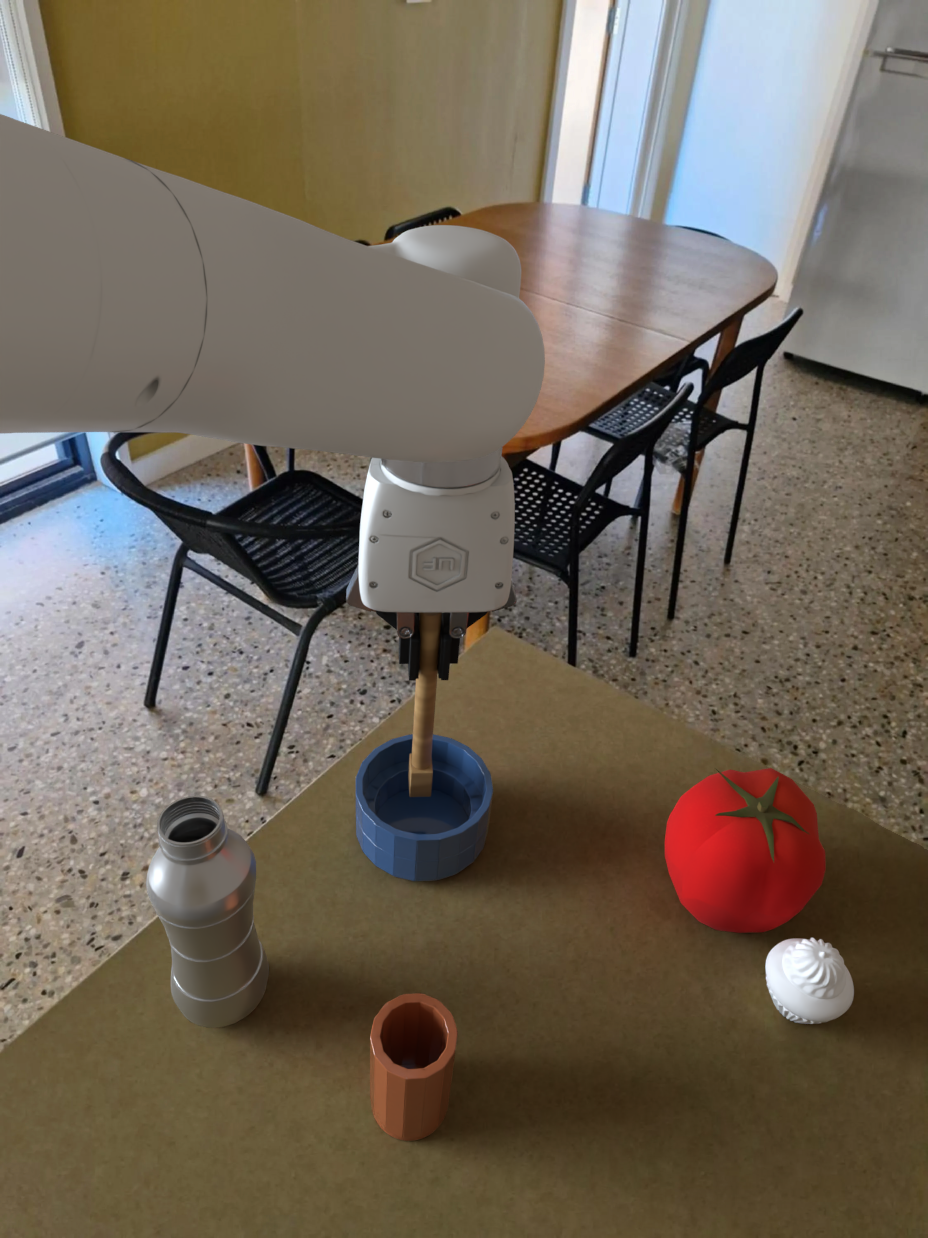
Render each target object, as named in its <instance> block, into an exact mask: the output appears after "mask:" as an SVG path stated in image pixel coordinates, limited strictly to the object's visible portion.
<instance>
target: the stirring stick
mask: <svg viewBox="0 0 928 1238" xmlns="http://www.w3.org/2000/svg"><path fill="white" fill-rule="evenodd" d="M418 613H419V614H418V617H419V630H420V638H421V646H420V663H419V679H416V681H415V689H414V691H415V692H414V704H413V705H414V708H413V725H412V734H413V742H412V753H411V754H410V756H409V775H408V780H409V796H410V797H430V796H431V790H432V777H433V769H432V757H431V755H432V742H433V734H434V726H435V715H436V714H435V713H436V699H437V688H438V687H437V686H438V657H439V643H440V630H441V620H442V613H443V612H418Z"/></svg>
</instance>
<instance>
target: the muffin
mask: <svg viewBox="0 0 928 1238" xmlns="http://www.w3.org/2000/svg"><path fill="white" fill-rule="evenodd" d="M764 966H765V967H764V969H765V980H766V987H767V989H768V993H769V995H770V998H771V1000H772V1002H773V1005H774V1007H775V1008H776V1010H777V1011H778V1012H779V1014H781V1015H782V1017H785V1018H786V1020H789V1021H790V1022H794V1023H795V1024H805V1025H806V1024H807V1025H808V1024H810V1025H813V1024H816V1025H819V1024H822V1023H828V1022H830V1021H834V1020H836V1019H837V1018H839V1017H841V1016H842V1015H844V1014H845V1013H846V1012H847V1011H848V1010H850V1007H851V1006H852V1004H853V1002H854V996H855V987H854V982H853V978H852V975H851V973H850V971H849V969H848V967H847V966H846V965H845V960H844V958H843V956H842V955H840V952H839V950H838V949H837V948H835V947H833V944H832V943H830V942H824V940H823V938H819V939H818V940H817V939H816V938H815V937H810V938H809V939H807V938H796V937H795V938H788V939H784V940H782V941H780V942H778V943H777V944H776V945H774V946H773V947H772V948H771V949H770V951H769V952H768V954H767V956H766V958H765V965H764Z"/></svg>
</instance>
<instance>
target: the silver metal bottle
mask: <svg viewBox="0 0 928 1238" xmlns="http://www.w3.org/2000/svg"><path fill="white" fill-rule="evenodd" d="M156 830H157V831H156V832H157V835H158V846H159V847H158V848H157V850H156V851H155V853H154V855H153V856H152V858H151V861H150V863H149V866H148V870H147V874H146V881H145V887H146V894H147V896H148V898H149V901H150V904H151V906H152V908H153V909H154V911H155V914H156V916H157V917H158V919H159V920H160V923H161V924H162V926H163V928H164V931H165V934H166V936H167V939H168V942H169V945H170V953H171V968H170V992H171V997H172V999H173V1003H174V1004H175V1005H176V1007H177V1008H178V1010H179V1011H180V1013H181V1014H182V1015H183V1016H184V1018H185V1019H187V1020H188V1021H189V1022H190V1023H193V1024H194V1025H196V1026H199V1027H203V1028H208V1029H209V1028H210V1029H216V1028H223V1027H228V1026H231V1025H234V1024H236V1023H238V1022H239V1021H241V1020H244V1019H245V1018H246V1017H247V1016H249V1015H250V1014H252V1012H253V1011H255V1009H256V1008H257V1007H258V1006H259V1004H260V1003H261V1001H262V999H263V997H264V995H265V993H266V989H267V984H268V979H269V976H270V963H269V960H268V959H269V958H268V955H267V953H266V949H265V947H264V946H263V944H262V942H261V940H260V939H259V935H258V933H257V929H256V925H255V922H254V921H255V917H254V898H255V891H256V884H257V883H256V881H257V860H256V855H255V853H254V852H253V849H252V847H251V846H250V845H249V843H248V842H247V841H246V839H245V838H244V837H243V836H242V835H241V834H240V833H238V832H236V831H235V830H233V829H231V828H229V827H228V824H227V821H226V820H225V817H224V812H223V810H222V808H221V806H220V804H219V803H218V802H217V801H216V800H214V799H213V798H211V797H208V796H204V795H188V796H184V797H180V798H178V799H176V800H174V801H172V802H170V803H169V804H168V805H166V806H165V808H164V809H162V811H161V812H160V814H159V815H158V818H157V822H156Z"/></svg>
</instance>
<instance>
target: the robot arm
mask: <svg viewBox="0 0 928 1238" xmlns="http://www.w3.org/2000/svg"><path fill="white" fill-rule="evenodd" d="M521 284H522V263H521V260H520V257H519V255H518V252H517V250H516V249H515V248H514V246H513V245H512V244H511V243H510V242H509V241H508V240H506V239H505V238H503V237H501V236H500V235H497V234H494V233H493V232H490V231H486V230H483V229H479V228H476V227H469V226H462V225H453V224H452V225H450V224H438V225H437V224H436V225H435V224H434V225H426V226H425V225H424V226H420V227H415V228H411V229H408V230H406V231H404V232H402V233H400V234H399V235H398V236H397V237H395V238H394V239H393V240H392V242H388V243H383V244H375V245H365V244H363V243H360V242H357V241H354V240H351V239H348V238H346V237H343V236H340V235H338V234H336V233H333V232H331V231H328V230H325V229H323V228H321V227H318V226H316V225H313V224H311V223H308V222H306V221H304V220H302V219H299V218H296V217H294V216H291V215H288V214H286V213H283V212H280V211H278V210H276V209H275V210H274V209H272V208H270V207H267V206H264V205H261V204H259V203H256V202H254V201H251V200H249V199H245V198H243V197H240V196H237V195H233V194H230V193H227V192H224V191H222V190H219V189H216V188H213V187H210V186H207V185H205V184H203V183H199V182H196V181H193V180H191V179H188V178H185V177H183V176H180V175H176V174H173V173H170V172H167V171H164V170H160V169H158V168H155V167H151V166H148V165H145V164H142V163H140V162H137V161H134V160H132V159H130V158H129V159H128V158H125V157H123V156H120V155H117V154H114V153H111V152H108V151H105V150H103V149H100V148H97V147H94V146H91V145H89V144H86V143H83V142H80V141H77V140H75V139H72V138H69V137H66V136H63V135H61V134H58V133H55V132H52V131H49V130H47V129H44V128H41V127H38V126H35V125H32V124H30V123H27V122H24V121H21V120H18V119H15V118H13V117H10V116H7V115H4V114H2V113H0V435H1V434H25V433H26V434H31V433H33V434H34V433H35V434H40V433H44V434H45V433H177V434H178V433H179V434H186V435H191V436H197V437H203V438H208V439H216V440H222V441H227V442H230V443H231V442H232V443H237V444H245V445H253V446H260V447H273V448H286V449H297V450H305V451H315V452H325V453H334V454H343V455H349V456H350V455H351V456H357V457H364V458H371V459H370V462H369V467H368V470H367V475H366V479H365V484H364V490H363V497H362V505H361V513H360V523H359V543H358V545H359V546H358V564H357V566H356V568H355V570H354V572H353V574H352V576H351V579H350V581H349V583H348V585H347V587H346V591H345V593H346V596H345V601H346V604H347V605H348V606H350V607H353V608H356V609H360V610H363V611H367V612H369V613H371V612H374V613H375V614H376V615H377V616H378V617H379V618H380V619H382V620H383V621H384V622H386V623H387V624H388V625H390V626H391V627H392V628H393V629H394V630H396V634H397V636H398V664H399V665H407V675H408V681H409V682H410V681H413V682H416V679H419V663H420V646H421V638H420V630H419V616H418V614H417V613H419V612H442V620H441V630H440V643H439V657H438V674H437V679H440V681H449V678H450V665H458V664H459V654H460V644H461V639H462V638H463V637H465V635H466V634H467V629H468V628H470V627H471V626H472V625H474V624H475V623H477V622H478V621H479V620H481V619H482V618H484V617H485V616H486V615H487V614H488V613H489V612H492V613H493V612H497V611H500V610H503V609H507V608H511V607H513V606H515V605H516V604H517V602H518V598H517V594H516V589H515V585H514V583H513V581H512V577H513V563H514V546H515V525H516V524H515V523H516V522H515V519H516V518H515V517H516V515H515V514H516V513H515V511H516V510H515V509H516V505H515V504H516V503H515V486H514V478H513V472H512V470H511V468H510V467H509V463H508V461H507V460H506V459H505V457H503V456H502V455H503V454H502V453H503V447H504V446H505V445H507V444H508V443H509V442H510V441H511V440H512V439H513V438H514V437H515V436H516V435H517V434H518V433H519V431H520V430H521V429H522V428H523V427H524V426H525V424H526V422H527V420H528V419H529V418H530V416H531V414H532V413H533V410H534V408H535V406H536V404H537V401H538V399H539V397H540V393H541V390H542V386H543V381H544V376H545V365H546V357H545V356H546V355H545V345H544V339H543V334H542V331H541V328H540V326H539V322H538V321H537V318H536V317H535V314H534V313H533V311H532V310H531V309H530V308H529V306H528V305H527V304H526V303H525V302H524V301H523V300H522V299H521V298H520V292H521Z"/></svg>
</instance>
